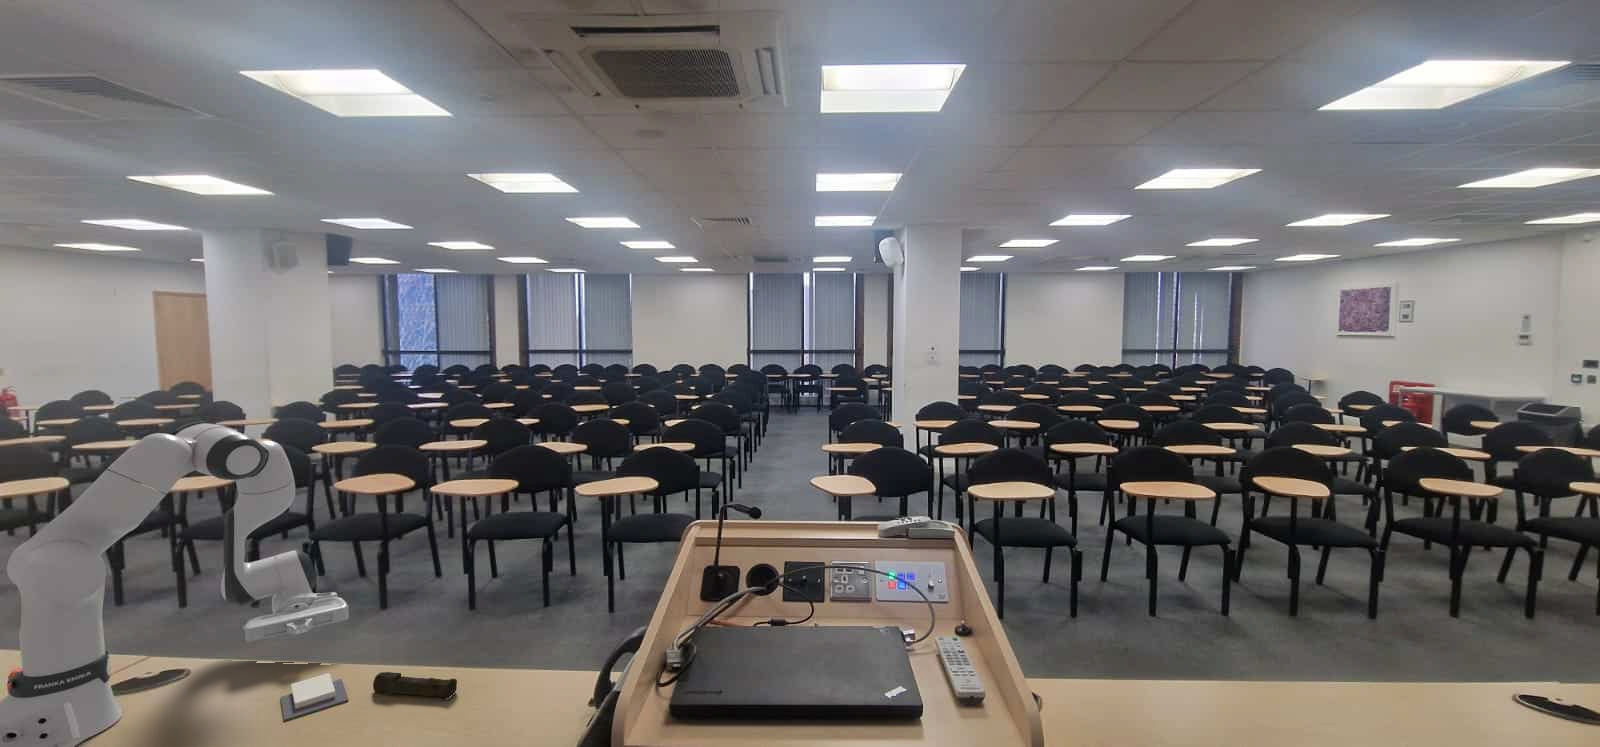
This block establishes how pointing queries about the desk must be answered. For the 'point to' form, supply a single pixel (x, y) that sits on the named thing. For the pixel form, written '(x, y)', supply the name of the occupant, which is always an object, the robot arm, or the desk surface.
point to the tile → (312, 691)
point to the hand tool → (413, 685)
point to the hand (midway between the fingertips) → (301, 631)
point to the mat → (291, 712)
